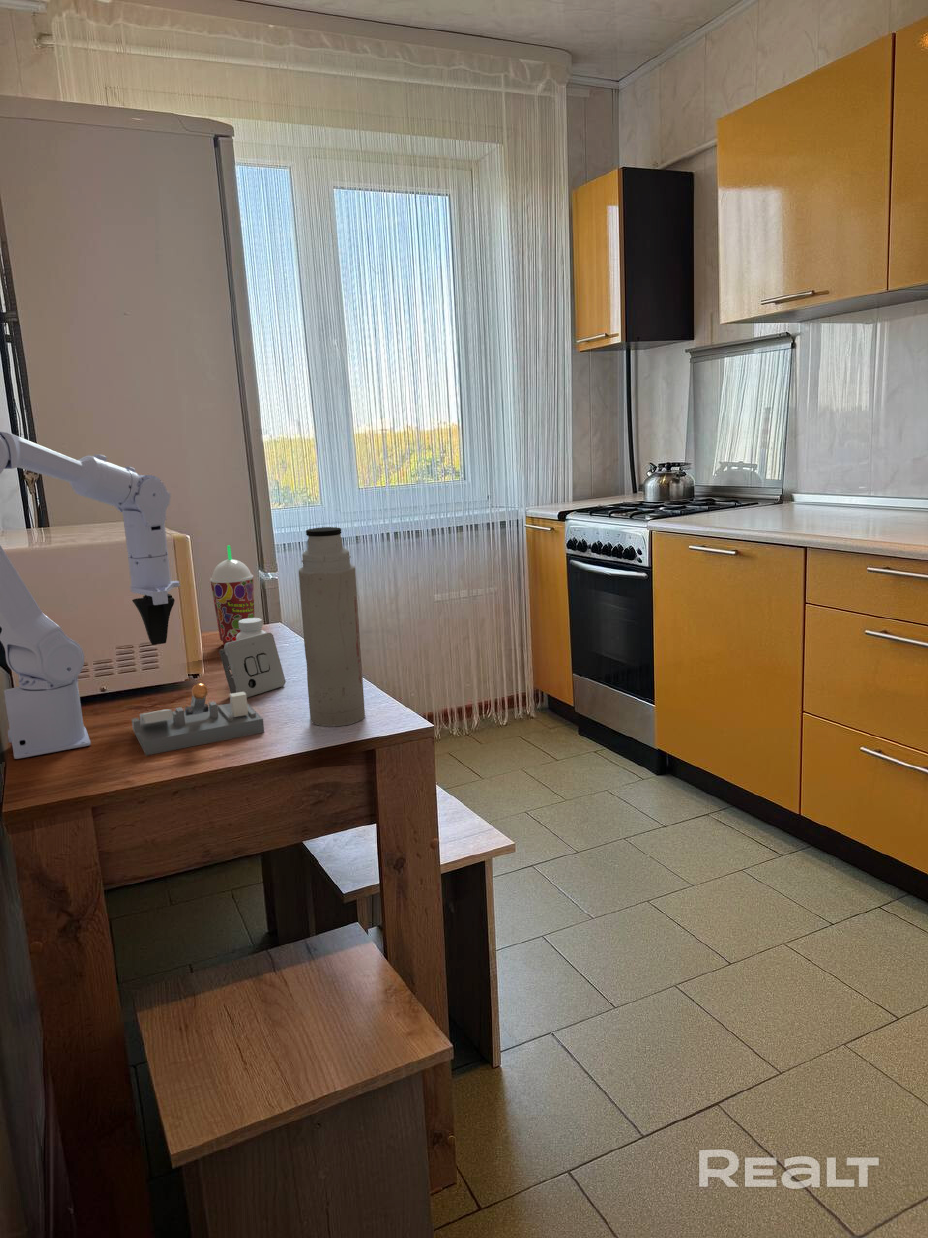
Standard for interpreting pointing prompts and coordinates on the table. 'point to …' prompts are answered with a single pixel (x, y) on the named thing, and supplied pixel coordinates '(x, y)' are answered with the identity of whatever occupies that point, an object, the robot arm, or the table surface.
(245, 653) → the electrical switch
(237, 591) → the smoothie
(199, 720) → the panel
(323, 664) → the thermos bottle
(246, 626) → the supplement bottle
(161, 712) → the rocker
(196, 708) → the lever
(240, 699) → the off-white rectangular block
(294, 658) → the table surface
